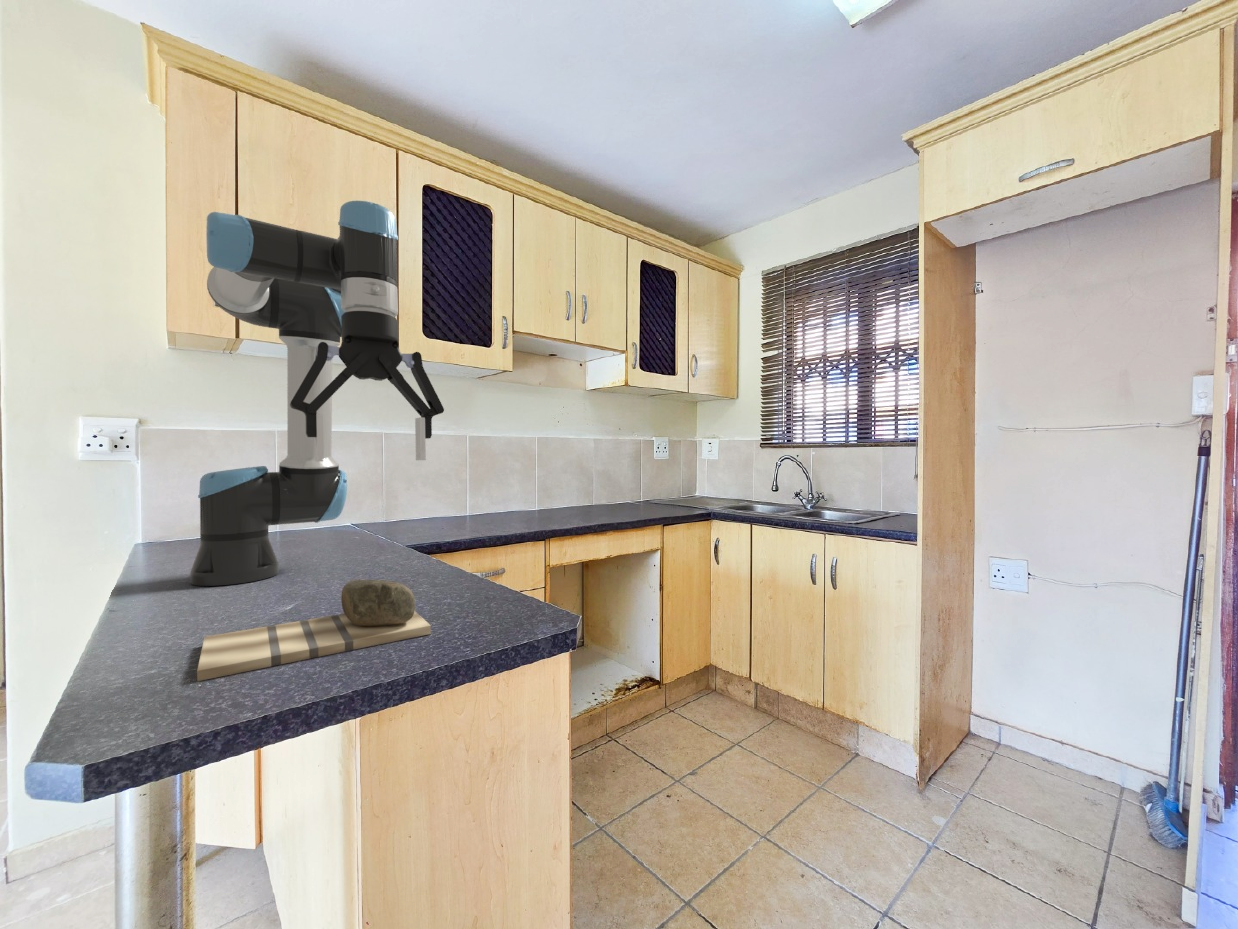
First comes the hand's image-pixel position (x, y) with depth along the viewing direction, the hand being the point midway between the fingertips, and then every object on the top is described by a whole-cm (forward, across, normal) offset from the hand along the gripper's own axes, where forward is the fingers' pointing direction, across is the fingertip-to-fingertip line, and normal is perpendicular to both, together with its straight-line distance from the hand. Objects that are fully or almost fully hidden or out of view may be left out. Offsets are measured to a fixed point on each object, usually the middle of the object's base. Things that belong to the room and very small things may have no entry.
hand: (372, 461), depth 77 cm
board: (+25, -7, 0) cm, 26 cm away
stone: (+24, 0, +1) cm, 24 cm away
